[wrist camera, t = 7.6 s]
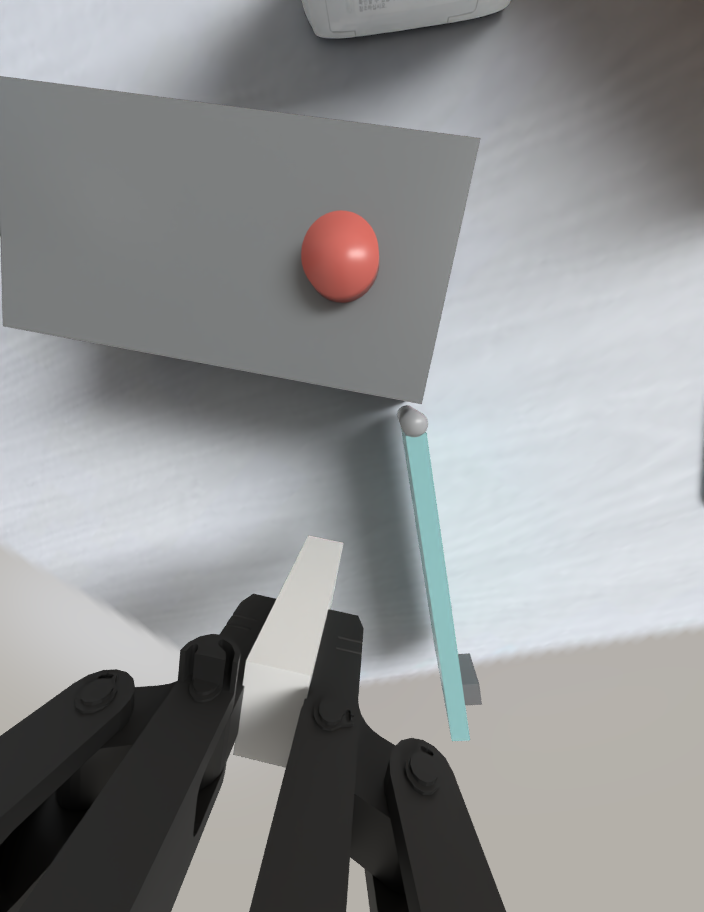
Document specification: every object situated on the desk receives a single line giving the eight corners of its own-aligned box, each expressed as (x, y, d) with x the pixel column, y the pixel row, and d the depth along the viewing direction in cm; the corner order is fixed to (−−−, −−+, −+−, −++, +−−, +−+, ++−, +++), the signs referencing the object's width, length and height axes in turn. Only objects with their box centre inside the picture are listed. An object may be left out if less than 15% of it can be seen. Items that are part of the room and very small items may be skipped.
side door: (464, 646, 21) (493, 745, 15) (433, 648, 21) (450, 746, 15) (430, 401, 18) (450, 404, 13) (395, 407, 19) (399, 413, 13)
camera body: (109, 344, 21) (-87, 309, 12) (114, 199, 19) (-108, 42, 11) (408, 399, 19) (423, 405, 11) (440, 249, 18) (487, 116, 9)
